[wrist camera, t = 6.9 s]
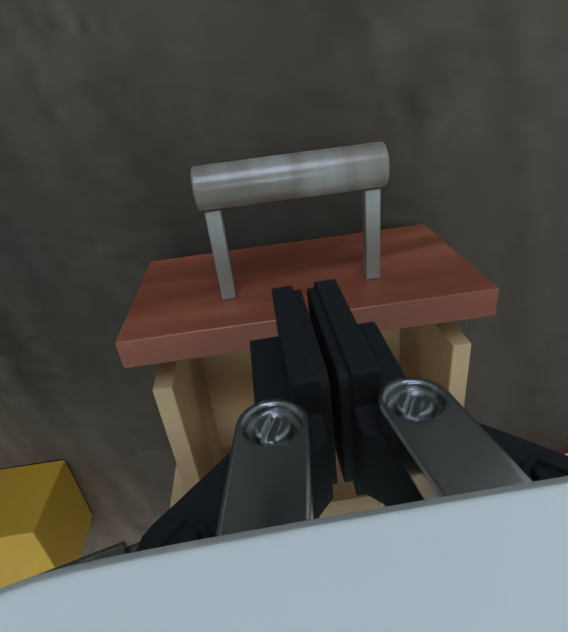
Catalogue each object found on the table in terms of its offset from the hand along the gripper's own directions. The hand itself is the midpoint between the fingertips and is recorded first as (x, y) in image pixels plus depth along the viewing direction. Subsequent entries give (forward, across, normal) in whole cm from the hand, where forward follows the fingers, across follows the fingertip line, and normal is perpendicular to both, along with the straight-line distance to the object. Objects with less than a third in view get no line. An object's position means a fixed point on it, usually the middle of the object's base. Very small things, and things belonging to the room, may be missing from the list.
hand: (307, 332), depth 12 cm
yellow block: (+13, +18, +19) cm, 29 cm away
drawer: (+12, -1, +6) cm, 13 cm away
